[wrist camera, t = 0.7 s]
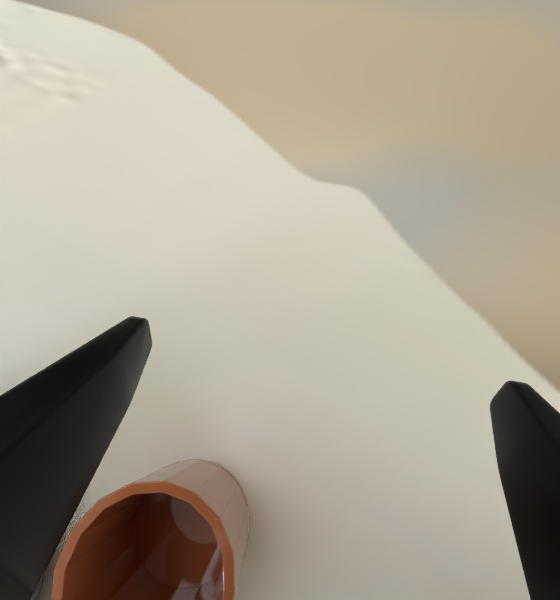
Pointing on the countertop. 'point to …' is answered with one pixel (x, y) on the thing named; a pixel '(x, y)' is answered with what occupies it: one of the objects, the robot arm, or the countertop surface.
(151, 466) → the countertop surface
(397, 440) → the countertop surface
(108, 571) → the cup
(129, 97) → the countertop surface
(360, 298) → the countertop surface
